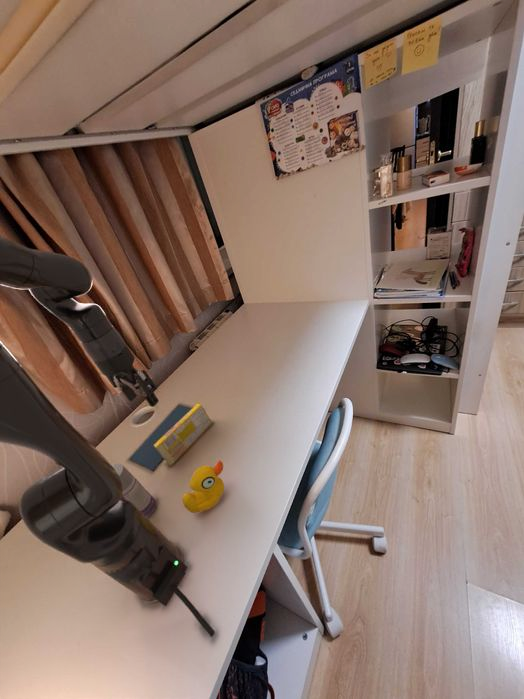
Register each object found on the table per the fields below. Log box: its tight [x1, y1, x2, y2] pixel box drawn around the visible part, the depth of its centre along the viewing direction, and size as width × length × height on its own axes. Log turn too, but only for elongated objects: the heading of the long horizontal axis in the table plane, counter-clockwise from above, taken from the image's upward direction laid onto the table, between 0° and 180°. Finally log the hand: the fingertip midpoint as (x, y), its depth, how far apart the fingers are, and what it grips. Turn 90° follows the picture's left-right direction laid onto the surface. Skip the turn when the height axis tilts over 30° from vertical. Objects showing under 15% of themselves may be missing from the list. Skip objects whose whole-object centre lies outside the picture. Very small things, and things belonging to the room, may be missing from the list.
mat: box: [128, 404, 193, 472], centre depth 88 cm, size 11×22×1 cm, turn 150°
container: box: [112, 462, 157, 518], centre depth 66 cm, size 5×5×15 cm
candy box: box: [154, 402, 213, 467], centre depth 81 cm, size 16×2×8 cm, turn 141°
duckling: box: [182, 460, 225, 514], centre depth 64 cm, size 11×5×10 cm, turn 124°
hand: (144, 401), depth 73 cm, fingers open, 8 cm apart
